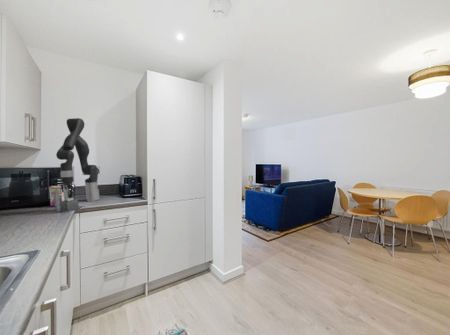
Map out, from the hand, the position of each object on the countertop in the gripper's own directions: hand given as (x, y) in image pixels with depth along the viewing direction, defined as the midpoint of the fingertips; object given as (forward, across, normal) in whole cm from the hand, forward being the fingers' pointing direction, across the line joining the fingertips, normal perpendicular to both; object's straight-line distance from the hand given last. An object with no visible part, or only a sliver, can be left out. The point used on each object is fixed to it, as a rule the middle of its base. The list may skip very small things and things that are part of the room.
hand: (68, 197), depth 152 cm
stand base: (+9, 0, 0) cm, 9 cm away
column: (+8, 0, 0) cm, 8 cm away
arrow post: (+9, 0, +7) cm, 12 cm away
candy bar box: (+10, +22, -5) cm, 25 cm away
